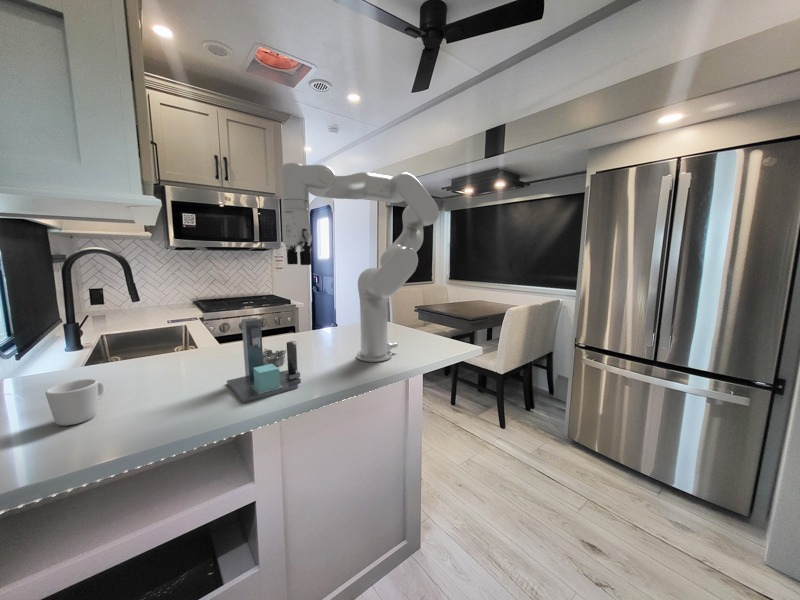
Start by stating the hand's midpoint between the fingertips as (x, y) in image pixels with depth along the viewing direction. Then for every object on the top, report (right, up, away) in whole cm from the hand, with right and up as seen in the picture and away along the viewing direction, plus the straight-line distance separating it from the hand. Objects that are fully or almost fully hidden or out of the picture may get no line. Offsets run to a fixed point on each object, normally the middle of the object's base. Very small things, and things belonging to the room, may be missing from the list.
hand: (299, 264), depth 98 cm
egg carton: (-12, -33, +10) cm, 36 cm away
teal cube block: (-4, -34, -13) cm, 37 cm away
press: (-6, -35, -9) cm, 37 cm away
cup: (-40, -38, -26) cm, 61 cm away
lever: (0, -33, -6) cm, 34 cm away
